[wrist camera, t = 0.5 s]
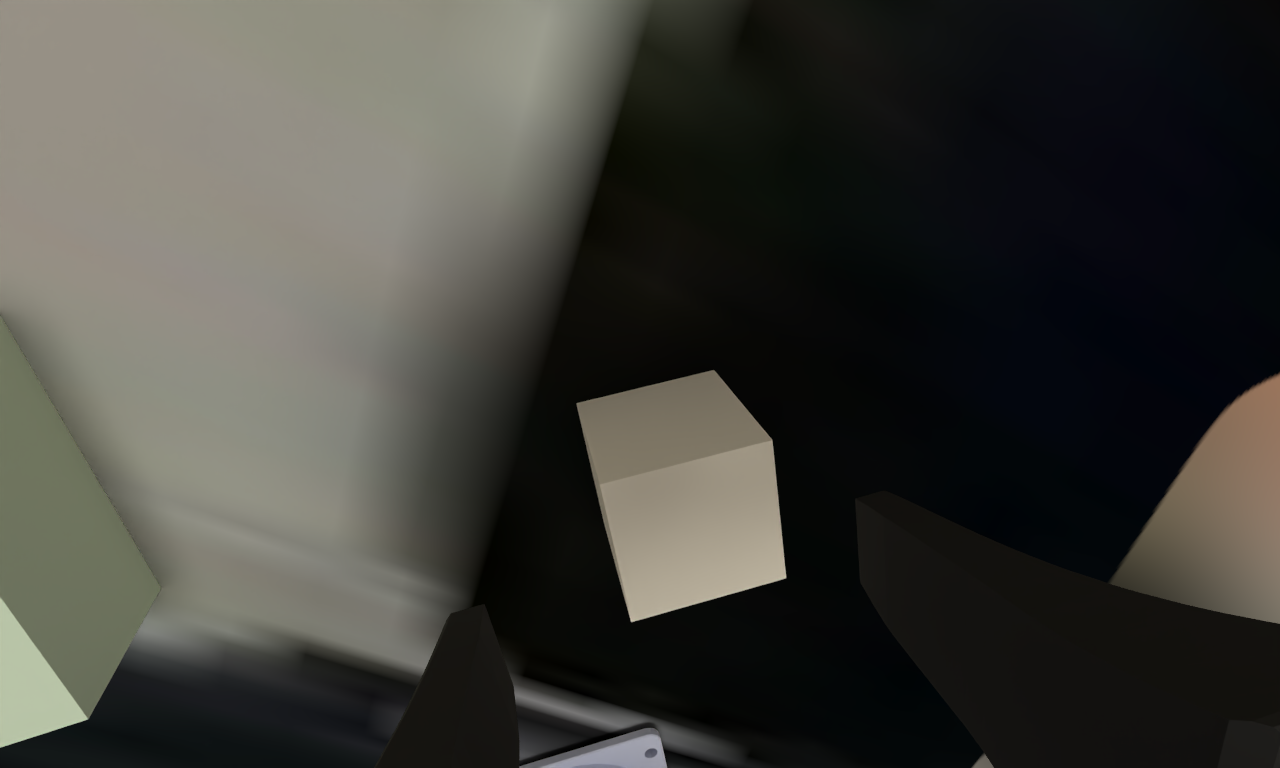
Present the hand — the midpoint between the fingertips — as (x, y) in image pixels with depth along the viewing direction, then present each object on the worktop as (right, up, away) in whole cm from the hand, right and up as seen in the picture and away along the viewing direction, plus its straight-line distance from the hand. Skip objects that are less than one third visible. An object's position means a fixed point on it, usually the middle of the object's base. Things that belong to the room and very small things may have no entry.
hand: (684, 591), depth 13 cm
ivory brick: (0, +2, +10) cm, 10 cm away
